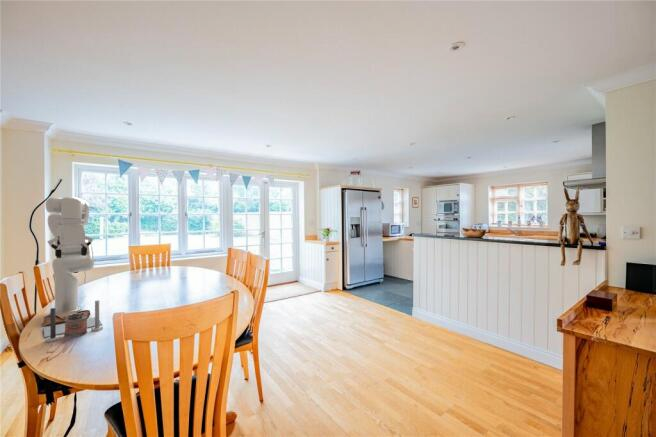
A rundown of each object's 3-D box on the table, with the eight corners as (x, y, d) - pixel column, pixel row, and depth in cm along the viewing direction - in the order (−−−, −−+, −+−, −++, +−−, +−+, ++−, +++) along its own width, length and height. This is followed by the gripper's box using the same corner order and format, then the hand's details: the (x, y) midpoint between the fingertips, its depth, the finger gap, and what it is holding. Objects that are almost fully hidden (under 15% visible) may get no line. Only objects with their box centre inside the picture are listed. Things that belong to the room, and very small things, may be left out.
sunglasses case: (39, 327, 132) (41, 314, 135) (42, 330, 137) (44, 317, 140) (88, 319, 143) (89, 307, 145) (89, 322, 148) (90, 310, 150)
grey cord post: (90, 329, 131) (90, 300, 131) (102, 326, 134) (102, 298, 134) (91, 332, 128) (91, 302, 128) (103, 329, 131) (103, 300, 131)
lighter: (62, 337, 122) (62, 315, 122) (66, 334, 125) (66, 313, 125) (85, 334, 125) (85, 313, 125) (88, 331, 129) (88, 310, 128)
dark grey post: (45, 340, 120) (45, 308, 119) (59, 336, 123) (59, 306, 123) (46, 343, 117) (46, 311, 116) (60, 339, 120) (60, 308, 120)
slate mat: (43, 329, 131) (43, 327, 131) (97, 317, 146) (97, 316, 146) (44, 338, 121) (44, 336, 121) (102, 325, 136) (102, 323, 136)
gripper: (88, 222, 144) (88, 254, 144) (44, 222, 128) (44, 258, 128) (96, 222, 141) (96, 254, 141) (51, 222, 125) (52, 259, 125)
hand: (71, 256), depth 135 cm, fingers open, 9 cm apart
